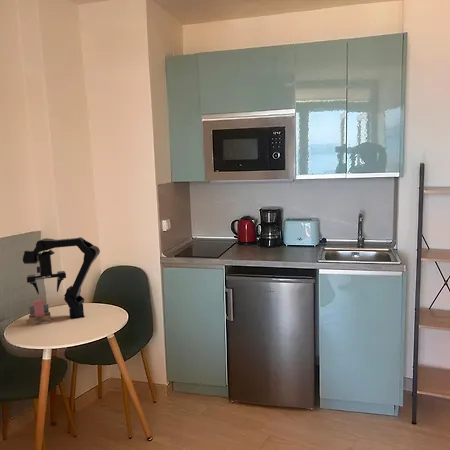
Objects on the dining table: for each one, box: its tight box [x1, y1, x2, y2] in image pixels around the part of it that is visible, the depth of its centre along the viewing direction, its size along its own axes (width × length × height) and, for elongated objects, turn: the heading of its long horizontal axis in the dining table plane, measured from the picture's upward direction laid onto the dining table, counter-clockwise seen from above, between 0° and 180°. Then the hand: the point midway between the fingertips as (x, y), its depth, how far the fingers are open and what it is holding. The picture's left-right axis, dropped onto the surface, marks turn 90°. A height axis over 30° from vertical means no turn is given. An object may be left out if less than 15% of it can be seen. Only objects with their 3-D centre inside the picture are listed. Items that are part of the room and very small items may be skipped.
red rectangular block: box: [33, 299, 45, 318], centre depth 234 cm, size 4×4×10 cm
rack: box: [28, 303, 53, 327], centre depth 237 cm, size 10×12×7 cm
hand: (48, 292), depth 241 cm, fingers open, 9 cm apart
